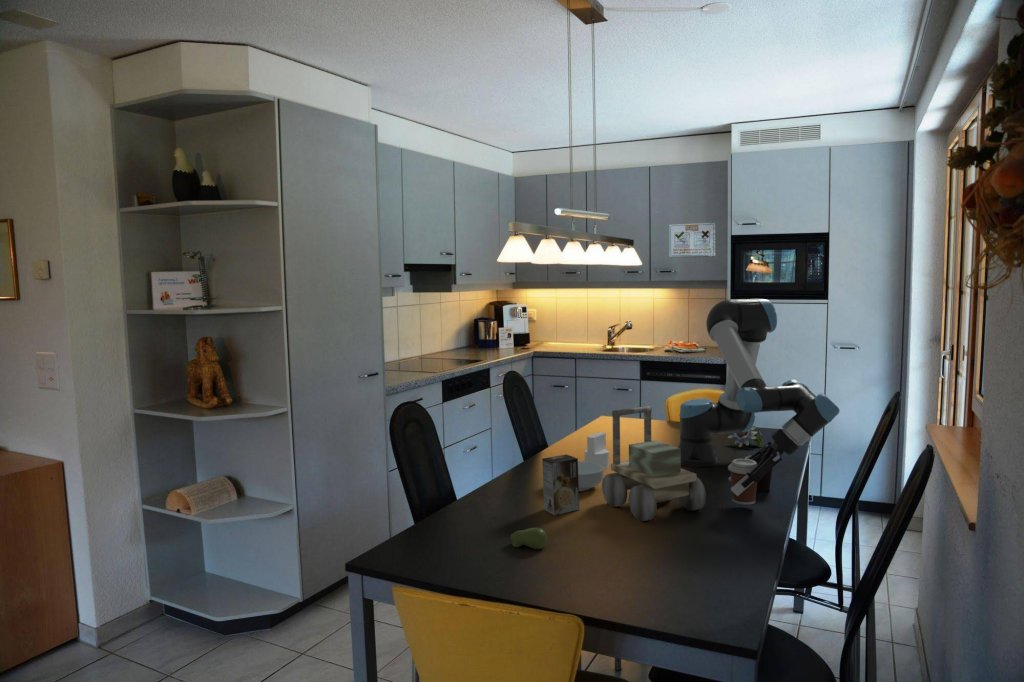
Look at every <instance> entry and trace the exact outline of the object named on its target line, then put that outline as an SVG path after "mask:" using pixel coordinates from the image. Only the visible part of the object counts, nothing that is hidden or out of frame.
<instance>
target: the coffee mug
mask: <svg viewBox="0 0 1024 682" xmlns="http://www.w3.org/2000/svg"><path fill="white" fill-rule="evenodd" d="M751 456H752V455H748V456H745V457H744V459H748V458H749V457H751ZM772 474H773V468H772V469H771V470H770V471H769V472H768V473H767V474H766V475H765V476H764V477H763V478H762V479H761V480H760V481H759V482H757V488H756V493H767V492H769V491H770V488H771V480H772Z"/></svg>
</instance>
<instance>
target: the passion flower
mask: <svg viewBox="0 0 1024 682" xmlns="http://www.w3.org/2000/svg"><path fill="white" fill-rule="evenodd" d="M756 428H757V425H753V426H752V428H751V429H750V430H749V431H747V432H741V433H730V434H729V435H727V437H726V438H727V439H733V440H734V442H733V444H734V446H735V445H738V448H742V447H743V445H744V444H745V446H747V447H748V446H749V445H750V441H751V440H753V441H754V442H755V443H756V445H757V447H758V448H759V449H761V448H762V445H763V446H764V443H763V439H762V438H761V436H763V434H762V433H761V431H760V430H755V429H756ZM757 434H759V436H758V435H757Z"/></svg>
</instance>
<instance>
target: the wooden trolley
mask: <svg viewBox="0 0 1024 682" xmlns="http://www.w3.org/2000/svg"><path fill="white" fill-rule="evenodd" d="M652 411H653V408H652V406H651V405H648V406H646V405H645V406H640V407H639V406H638V407H632V408H631V407H630V408H623V409H617V410H616V409H615V410H612V412H611V416H612V461H613V462H612V463H610V471H613V472H612V473H607V474H604V475H603V479H602V481H601V489H602V490H601V491H602V495H603V498H604V500H605V502H606V503H607V504H608V505H609V506H610V507H612V508H616V507H622V506H624V505H625V504H626V502H627V499H628V503H629V504H628V505H629V509H630V511H631V513H632V515H633V516H634V519H636V520H638V521H640V522H646V521H647V522H648V521H651V520H653V519H654V518H655V516H656V514H657V509H658V507H657V505H658V503H662V502H669V501H674V500H677V499H679V502H680V504H681V505H682V506H683V508H684V509H686V510H687V511H690V512H691V511H697V510H701V509H702V508H703V507H705V505H706V500H707V492H706V488H705V486H704V484H703V483H702V481H701V479H700V478H698V477H697V473H694V472H692V471H689V470H686V469H684V468H682V467H681V466H682V465H681V449H680V448H678V447H676V446H674V445H670V444H667V443H664V442H661V441H658V440H652ZM635 414H643V425H644V426H643V431H644V433H643V434H644V435H643V439H644V440H643V442H639V443H630V444H628V460H626V461H624V460H623V461H621V420H620V419H621V418H620V417H621V416H627V415H628V416H629V415H635ZM628 491H629V492H628Z"/></svg>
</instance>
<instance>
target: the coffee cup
mask: <svg viewBox="0 0 1024 682" xmlns="http://www.w3.org/2000/svg"><path fill="white" fill-rule="evenodd" d="M756 466H757V463H756V462H755V461H753V460H750V459H745V458H736V459H735V458H734V459H733V460H732V461H731V463H730V464H729V465H728V466H727V469H728V471H730V477H731V481H730V482H731V483H730V484H731V488H732V487H733V486H734V485H735V484H737V483H738V482H739V481H740V480H741V479H742V478H743V477H745V476H746V475H747V474H746V473H751V472H752V470H753V469H754V468H755V467H756ZM756 488H757V482H753V483H752V484H751V485H750V486H749V487H748V488H746V489H745V490H744V491H743V492H742V493H741V494H740V495H738V496H737V495H736V494H735V493H734V492H733V491H732V490H731V495H732V502H734V503H735V504H739V505H743V506H744V505H748V506H749V505H752V504H756V498H757V497H756V496H757V492H756Z"/></svg>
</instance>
